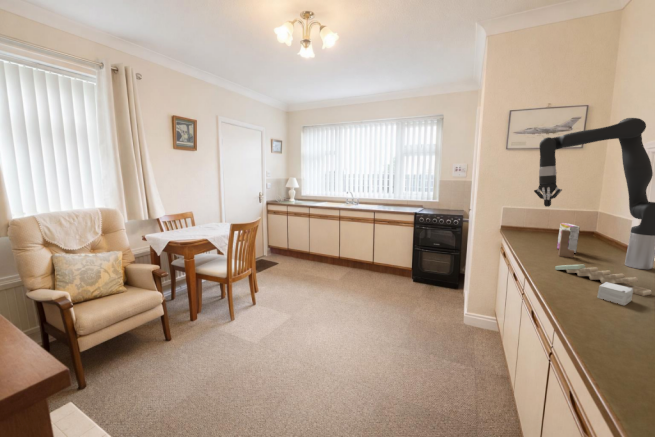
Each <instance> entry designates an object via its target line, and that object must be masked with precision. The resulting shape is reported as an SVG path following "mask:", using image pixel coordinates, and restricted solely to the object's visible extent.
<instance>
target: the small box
mask: <svg viewBox="0 0 655 437" xmlns="http://www.w3.org/2000/svg"><path fill="white" fill-rule="evenodd" d="M633 294H634V293H633V288H629V287H625V286H621V285H617V284H613V283H608V282H605V283H601V284H600V285H598V291H597V297H596V298H597V299H599V300H603V299H604V301H608V302H610V301H611V302H610V303H614V304H617V303H618V305H621V306H626V305H628V304H629V303H630V302H631V301H632V299H633Z"/></svg>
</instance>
